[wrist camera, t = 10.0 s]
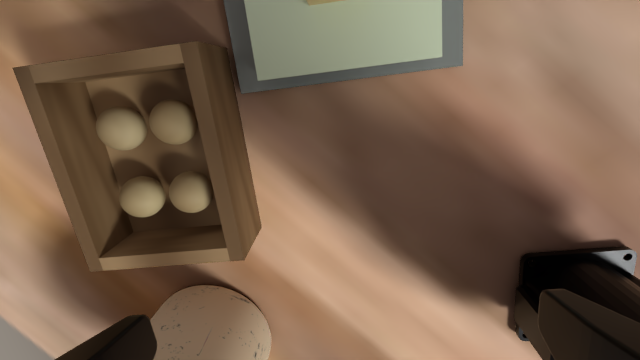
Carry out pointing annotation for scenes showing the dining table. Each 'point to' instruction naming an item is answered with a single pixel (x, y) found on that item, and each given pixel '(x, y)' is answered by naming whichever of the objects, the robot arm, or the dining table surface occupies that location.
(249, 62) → the coaster
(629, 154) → the dining table surface
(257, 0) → the lid
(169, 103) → the box
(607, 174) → the dining table surface
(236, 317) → the teacup with lid
